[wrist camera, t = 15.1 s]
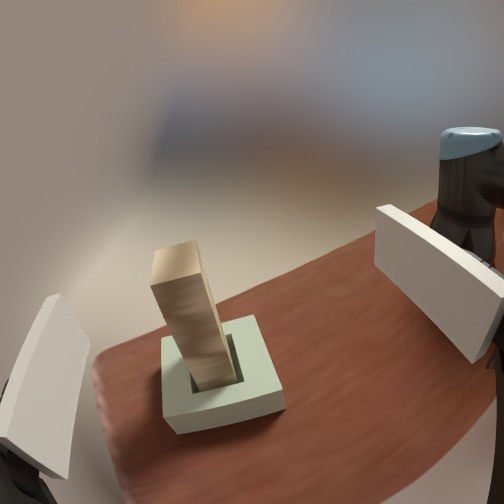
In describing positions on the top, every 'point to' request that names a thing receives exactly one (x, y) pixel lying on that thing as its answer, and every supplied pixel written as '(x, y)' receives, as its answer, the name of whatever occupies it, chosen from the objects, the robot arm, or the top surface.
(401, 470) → the top surface
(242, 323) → the end cap
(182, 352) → the wooden block
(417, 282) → the robot arm
